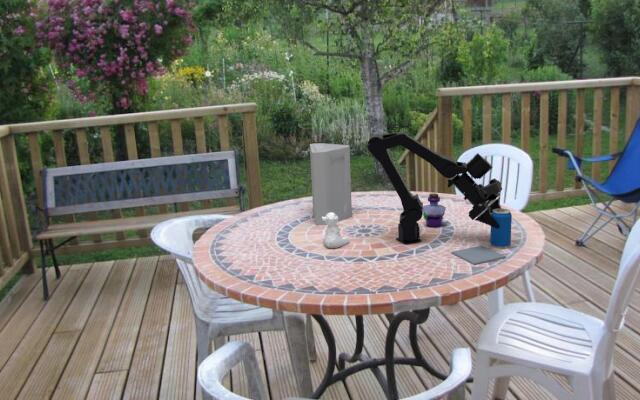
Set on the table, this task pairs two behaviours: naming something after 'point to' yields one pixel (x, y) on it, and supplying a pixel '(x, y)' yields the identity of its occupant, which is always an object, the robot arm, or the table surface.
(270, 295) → the table surface
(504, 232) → the beverage can
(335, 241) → the sitting furry creature
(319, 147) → the gray triangular prism
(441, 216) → the potion bottle
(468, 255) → the mat
